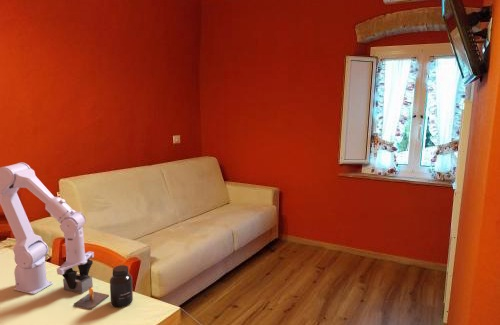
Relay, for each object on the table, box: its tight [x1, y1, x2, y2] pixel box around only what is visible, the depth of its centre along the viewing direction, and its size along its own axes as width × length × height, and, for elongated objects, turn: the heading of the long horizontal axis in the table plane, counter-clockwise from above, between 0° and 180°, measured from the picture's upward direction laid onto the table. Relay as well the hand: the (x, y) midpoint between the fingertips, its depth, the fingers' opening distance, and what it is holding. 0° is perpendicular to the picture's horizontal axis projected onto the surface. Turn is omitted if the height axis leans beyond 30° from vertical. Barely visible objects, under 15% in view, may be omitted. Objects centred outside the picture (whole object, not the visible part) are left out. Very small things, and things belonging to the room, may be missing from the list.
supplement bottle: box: [109, 264, 134, 309], centre depth 113 cm, size 7×7×12 cm
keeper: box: [73, 286, 110, 310], centre depth 114 cm, size 7×8×5 cm
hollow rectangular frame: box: [62, 272, 94, 295], centre depth 122 cm, size 8×5×4 cm, turn 72°
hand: (78, 284), depth 122 cm, fingers closed on hollow rectangular frame, 5 cm apart
